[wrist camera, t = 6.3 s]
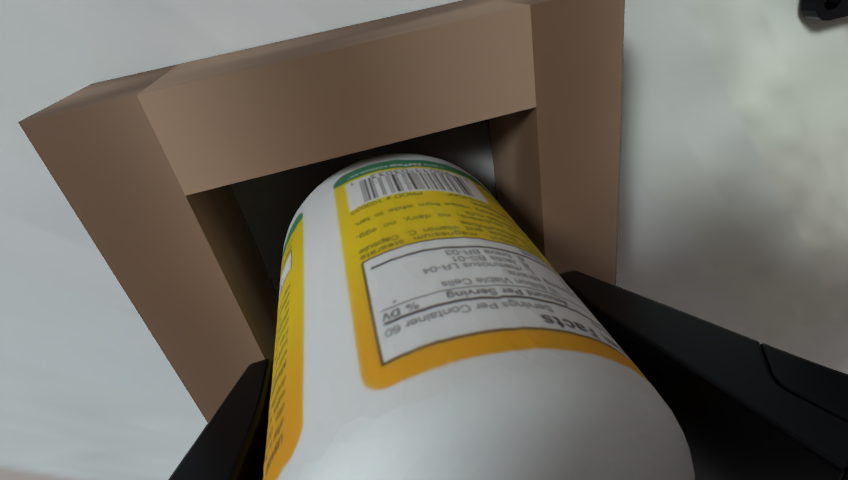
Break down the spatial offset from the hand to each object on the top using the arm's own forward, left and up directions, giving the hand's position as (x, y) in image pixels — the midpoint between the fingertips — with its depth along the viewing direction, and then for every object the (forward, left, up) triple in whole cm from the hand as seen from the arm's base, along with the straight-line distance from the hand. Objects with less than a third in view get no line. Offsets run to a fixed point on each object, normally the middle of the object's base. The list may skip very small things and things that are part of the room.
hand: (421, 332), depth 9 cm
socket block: (0, 0, -5) cm, 5 cm away
